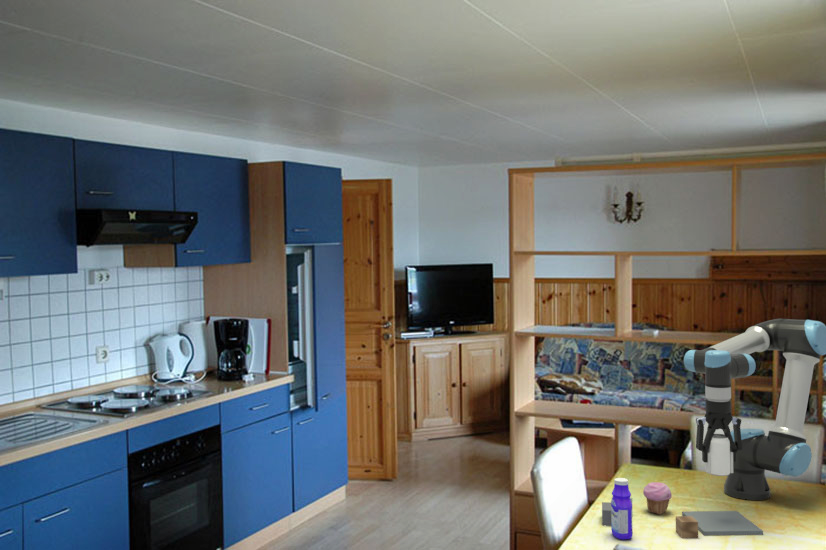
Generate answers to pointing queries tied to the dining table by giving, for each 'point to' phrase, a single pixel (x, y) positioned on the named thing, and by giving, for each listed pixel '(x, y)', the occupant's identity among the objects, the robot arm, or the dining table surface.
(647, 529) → the dining table surface
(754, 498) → the robot arm
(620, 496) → the bottle
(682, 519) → the walnut block
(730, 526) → the board
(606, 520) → the charcoal block
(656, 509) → the cupcake
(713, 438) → the can
